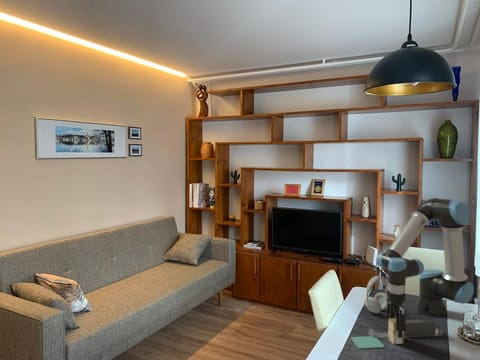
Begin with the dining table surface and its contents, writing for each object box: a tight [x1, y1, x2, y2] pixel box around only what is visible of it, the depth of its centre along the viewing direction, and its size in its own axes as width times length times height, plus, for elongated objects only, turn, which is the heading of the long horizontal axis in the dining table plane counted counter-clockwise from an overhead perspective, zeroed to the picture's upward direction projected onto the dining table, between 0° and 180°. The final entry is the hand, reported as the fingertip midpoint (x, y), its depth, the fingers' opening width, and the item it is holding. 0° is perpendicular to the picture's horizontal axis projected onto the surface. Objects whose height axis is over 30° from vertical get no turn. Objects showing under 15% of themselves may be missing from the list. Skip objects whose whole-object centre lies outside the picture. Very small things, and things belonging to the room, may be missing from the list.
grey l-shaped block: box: [395, 316, 437, 335], centre depth 186 cm, size 16×9×6 cm, turn 94°
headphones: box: [364, 275, 388, 315], centre depth 210 cm, size 19×9×20 cm, turn 126°
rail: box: [368, 325, 444, 339], centre depth 183 cm, size 35×4×2 cm, turn 94°
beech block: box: [387, 318, 405, 345], centre depth 176 cm, size 5×5×10 cm
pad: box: [350, 335, 385, 350], centre depth 175 cm, size 12×10×1 cm
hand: (394, 339), depth 177 cm, fingers open, 7 cm apart
